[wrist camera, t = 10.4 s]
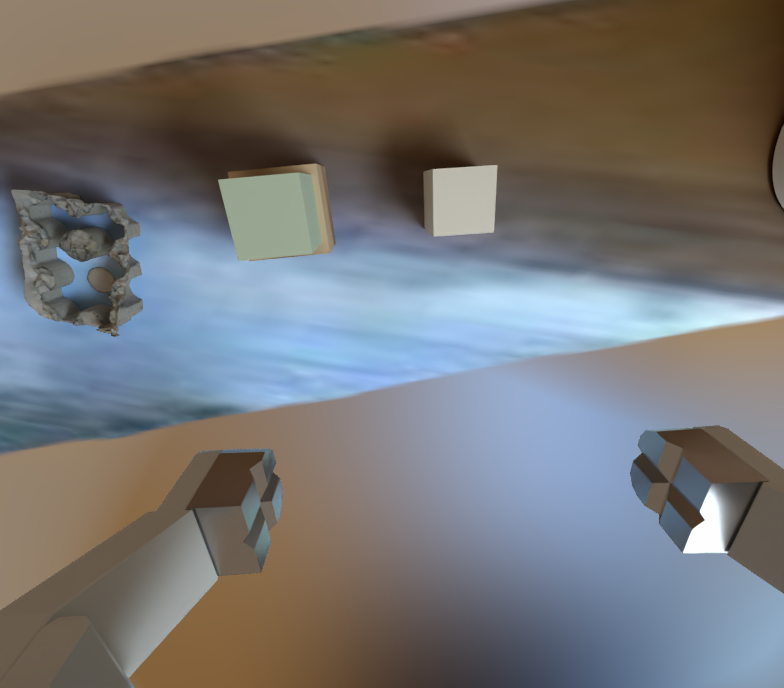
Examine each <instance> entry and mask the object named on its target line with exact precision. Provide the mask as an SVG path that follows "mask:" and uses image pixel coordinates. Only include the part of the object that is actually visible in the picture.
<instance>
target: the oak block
mask: <svg viewBox="0 0 784 688" xmlns="http://www.w3.org/2000/svg"><path fill="white" fill-rule="evenodd" d="M298 172H299V173H304V174H309V175H312V179H313V185H314V192H315V198H316V205H317V211H318V217H319V224H320V230H321V237H322V243H321V245H320V246H319V247H318V248H317V249H316V250H315V251H314V253H313V254H306V255H315V254H326V253H330V252H331V250H332V249H333V247H334V245H335V244H336V242H335V235H334V228H333V222H332V215H331V208H330V201H329V194H328V188H327V181H326V174H325V167H324V166H321V165H319V164H305V165H295V166H284V167H274V168H263V169H253V170H242V171H232V172H228V176H229V179H231V178H243V177H254V176H265V175H276V174H287V173H298ZM295 256H305V255H295ZM295 256H285V257H295ZM285 257H274V258H263V259H253V260H249V261H255V260H265V259H275V258H285Z"/></svg>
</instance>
